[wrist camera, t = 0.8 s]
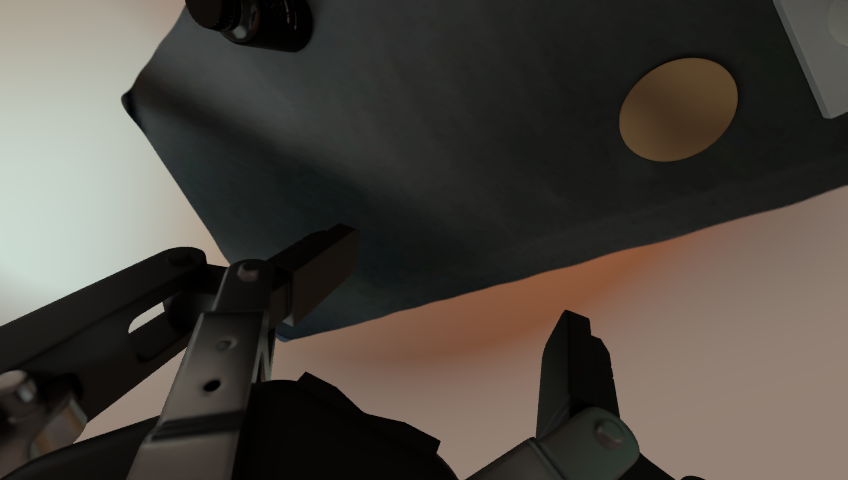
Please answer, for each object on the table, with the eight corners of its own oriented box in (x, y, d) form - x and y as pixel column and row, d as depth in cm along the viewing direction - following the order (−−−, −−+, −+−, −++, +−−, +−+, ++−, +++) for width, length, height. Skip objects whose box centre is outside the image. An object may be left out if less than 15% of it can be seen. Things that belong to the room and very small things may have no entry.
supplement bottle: (324, 18, 39) (241, -5, 29) (298, 65, 43) (216, 59, 33) (284, -28, 39) (186, -68, 29) (261, 23, 43) (166, 4, 32)
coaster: (642, 51, 30) (643, 51, 30) (759, 65, 28) (761, 65, 28) (604, 150, 34) (604, 150, 34) (703, 169, 32) (704, 170, 32)
